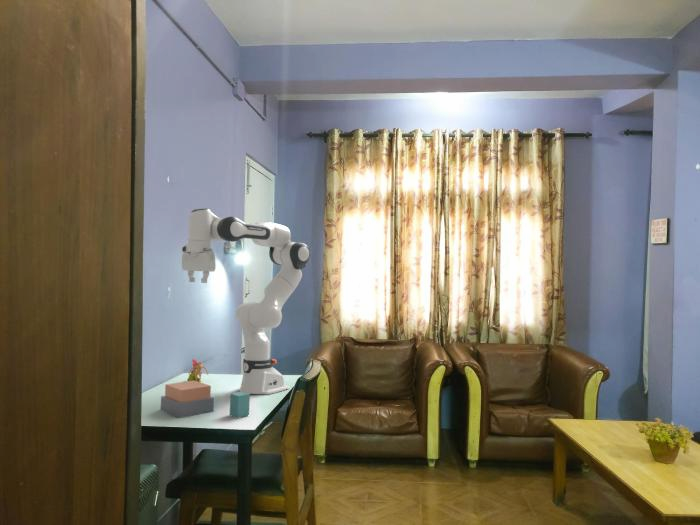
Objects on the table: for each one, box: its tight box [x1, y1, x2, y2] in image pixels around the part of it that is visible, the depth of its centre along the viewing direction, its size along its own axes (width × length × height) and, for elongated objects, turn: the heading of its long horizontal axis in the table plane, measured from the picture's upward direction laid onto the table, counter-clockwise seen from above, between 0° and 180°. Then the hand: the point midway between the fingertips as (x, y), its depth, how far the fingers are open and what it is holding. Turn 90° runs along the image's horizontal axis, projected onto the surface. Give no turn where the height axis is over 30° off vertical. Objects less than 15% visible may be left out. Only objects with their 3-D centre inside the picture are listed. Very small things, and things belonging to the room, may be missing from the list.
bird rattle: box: [186, 358, 202, 383], centre depth 247 cm, size 6×11×9 cm
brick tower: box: [160, 381, 215, 419], centre depth 198 cm, size 14×14×10 cm
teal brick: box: [229, 391, 251, 419], centre depth 193 cm, size 5×5×8 cm
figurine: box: [188, 362, 209, 382], centre depth 229 cm, size 8×6×12 cm
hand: (197, 282), depth 211 cm, fingers open, 8 cm apart
